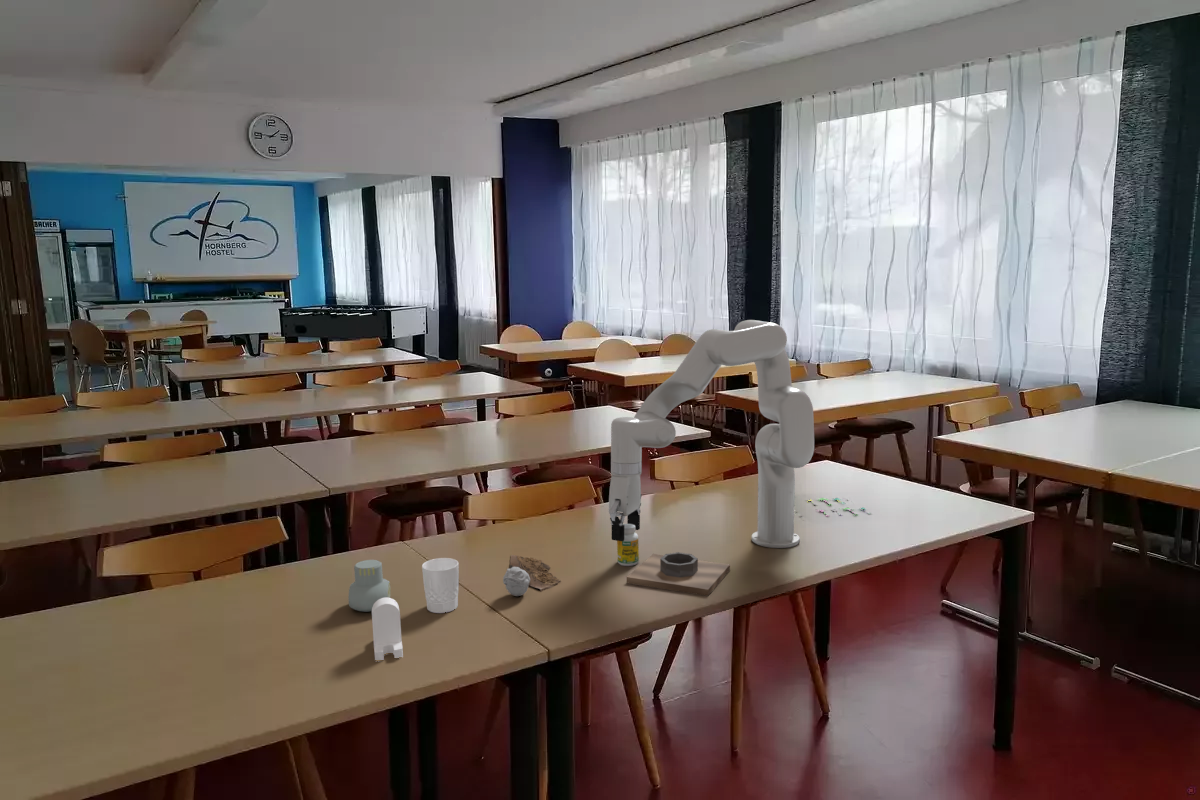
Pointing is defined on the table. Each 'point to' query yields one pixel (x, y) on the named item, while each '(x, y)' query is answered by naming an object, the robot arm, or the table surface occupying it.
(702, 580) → the holder
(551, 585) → the wooden fragment
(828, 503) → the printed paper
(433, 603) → the white cup
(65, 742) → the table surface
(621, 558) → the supplement bottle
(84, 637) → the table surface
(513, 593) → the crumpled paper ball
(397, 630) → the white phone stand
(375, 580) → the air freshener
